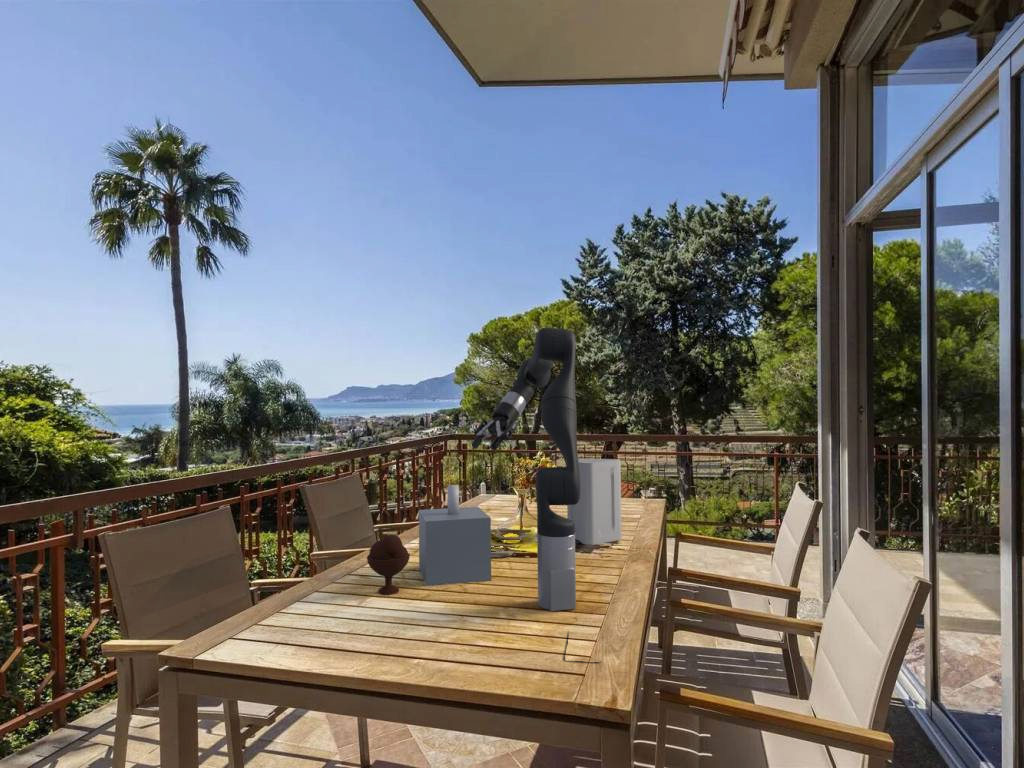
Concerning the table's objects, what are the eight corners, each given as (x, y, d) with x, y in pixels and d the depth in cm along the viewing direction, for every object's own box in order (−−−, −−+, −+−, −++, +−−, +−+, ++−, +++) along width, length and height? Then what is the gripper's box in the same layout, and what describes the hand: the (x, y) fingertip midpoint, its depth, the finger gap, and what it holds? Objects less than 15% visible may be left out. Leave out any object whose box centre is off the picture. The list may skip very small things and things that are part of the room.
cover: (491, 580, 168) (490, 488, 168) (426, 585, 163) (425, 491, 164) (478, 563, 185) (477, 480, 186) (419, 568, 180) (418, 483, 181)
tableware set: (505, 562, 187) (505, 549, 187) (420, 555, 197) (420, 543, 197) (537, 538, 221) (537, 526, 221) (463, 533, 230) (463, 522, 230)
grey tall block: (561, 543, 210) (560, 462, 211) (569, 534, 224) (568, 458, 225) (616, 546, 205) (615, 463, 206) (621, 536, 219) (620, 459, 220)
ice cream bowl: (413, 585, 164) (413, 529, 164) (402, 599, 152) (402, 539, 153) (375, 584, 165) (375, 529, 165) (361, 598, 154) (361, 538, 154)
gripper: (488, 401, 195) (461, 438, 186) (519, 400, 185) (492, 440, 176) (500, 417, 198) (474, 454, 190) (531, 417, 188) (505, 457, 180)
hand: (483, 447), depth 183 cm, fingers open, 8 cm apart
